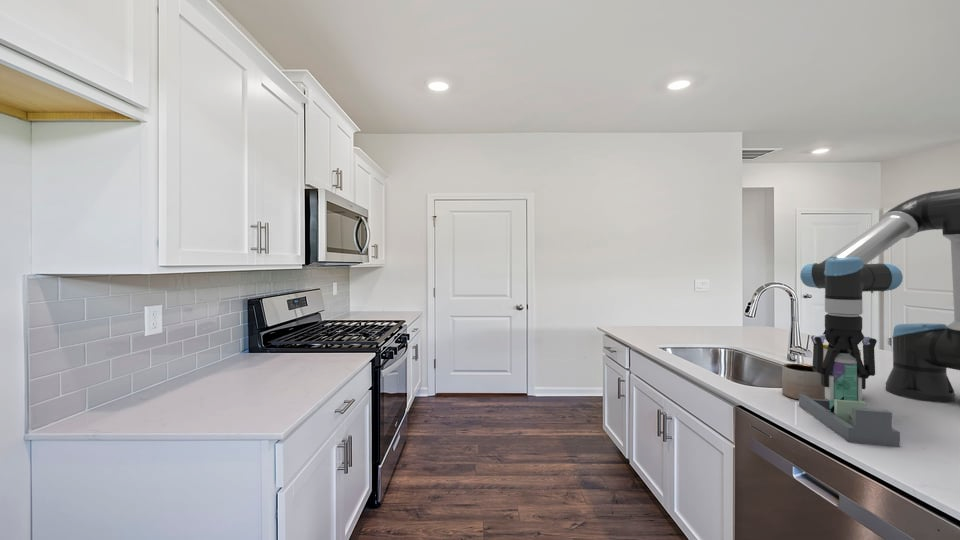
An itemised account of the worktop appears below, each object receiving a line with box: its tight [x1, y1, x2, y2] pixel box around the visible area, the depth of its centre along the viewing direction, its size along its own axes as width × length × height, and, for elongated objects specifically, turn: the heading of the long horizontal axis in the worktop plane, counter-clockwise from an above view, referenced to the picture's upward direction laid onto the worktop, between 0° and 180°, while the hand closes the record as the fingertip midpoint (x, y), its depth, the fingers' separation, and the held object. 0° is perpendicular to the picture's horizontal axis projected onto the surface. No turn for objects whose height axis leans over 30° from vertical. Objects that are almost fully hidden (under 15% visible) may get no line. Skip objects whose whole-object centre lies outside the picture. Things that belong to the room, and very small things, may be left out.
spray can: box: [829, 349, 857, 414], centre depth 107 cm, size 6×6×20 cm
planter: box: [781, 363, 826, 401], centre depth 129 cm, size 11×11×10 cm
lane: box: [798, 394, 901, 447], centre depth 108 cm, size 10×25×8 cm, turn 163°
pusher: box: [834, 399, 868, 426], centre depth 102 cm, size 6×5×7 cm
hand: (842, 399), depth 108 cm, fingers closed on spray can, 5 cm apart
